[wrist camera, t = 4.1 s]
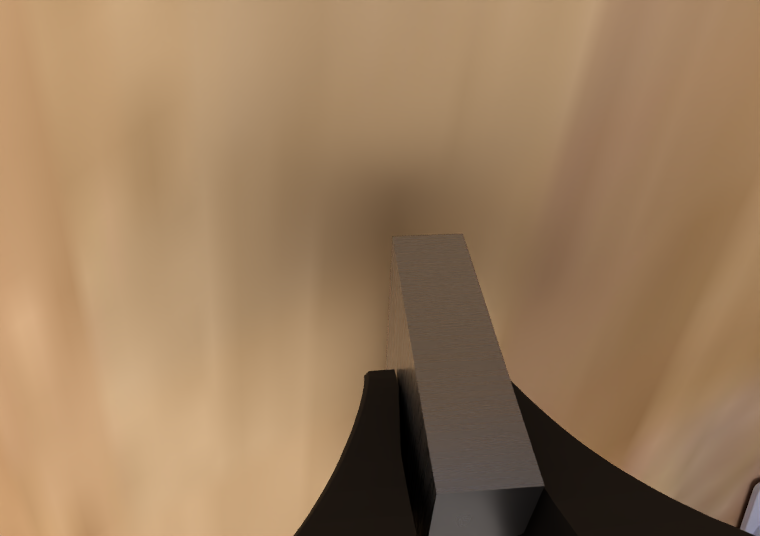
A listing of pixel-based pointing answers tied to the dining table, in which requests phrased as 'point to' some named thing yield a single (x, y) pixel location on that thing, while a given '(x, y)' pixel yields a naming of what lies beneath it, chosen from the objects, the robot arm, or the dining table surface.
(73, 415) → the dining table surface
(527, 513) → the steel block
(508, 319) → the dining table surface
